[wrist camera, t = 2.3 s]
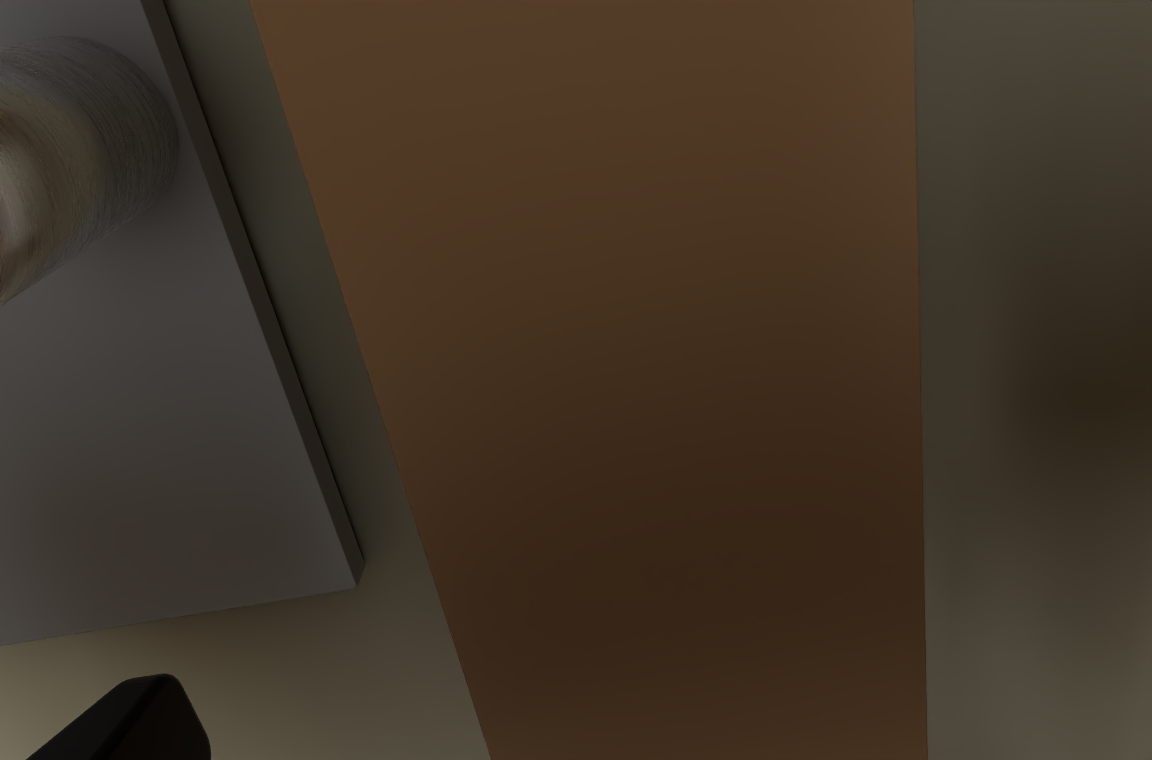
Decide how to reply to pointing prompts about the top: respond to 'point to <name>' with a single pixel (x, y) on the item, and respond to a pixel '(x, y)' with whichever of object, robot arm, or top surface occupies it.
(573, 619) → the brown rectangular block
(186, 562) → the mat
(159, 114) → the pair of rounded blocks
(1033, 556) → the top surface
